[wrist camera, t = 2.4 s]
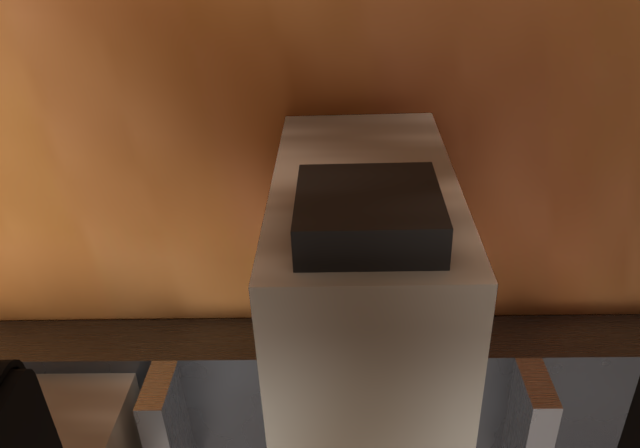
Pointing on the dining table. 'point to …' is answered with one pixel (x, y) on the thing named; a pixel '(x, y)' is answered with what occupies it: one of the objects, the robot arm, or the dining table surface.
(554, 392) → the rail
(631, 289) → the dining table surface
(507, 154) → the dining table surface
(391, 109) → the dining table surface
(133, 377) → the block
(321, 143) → the block
